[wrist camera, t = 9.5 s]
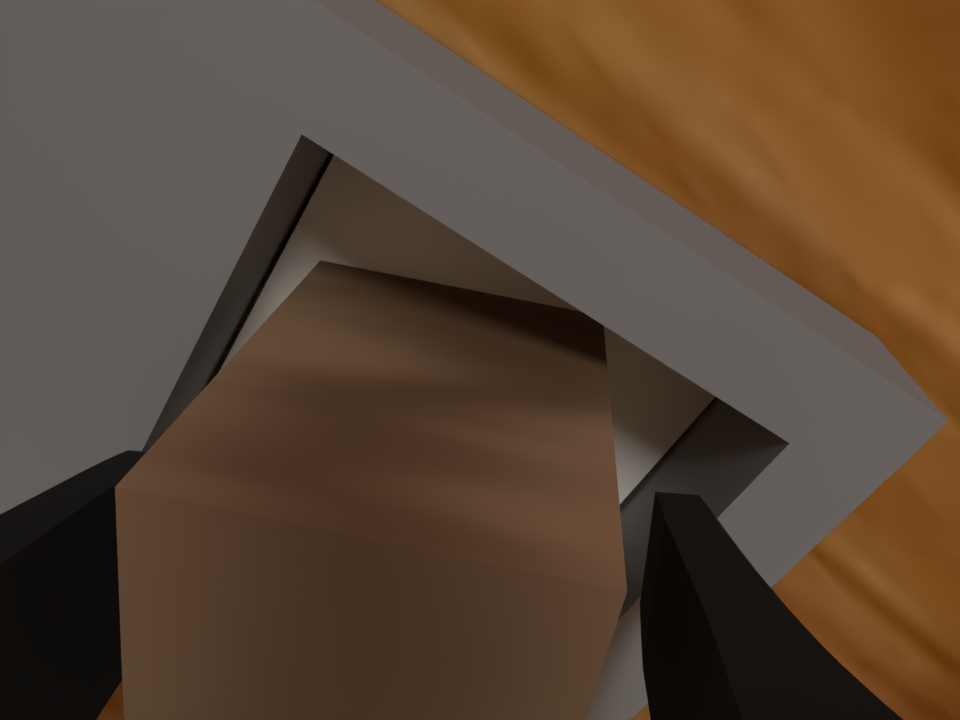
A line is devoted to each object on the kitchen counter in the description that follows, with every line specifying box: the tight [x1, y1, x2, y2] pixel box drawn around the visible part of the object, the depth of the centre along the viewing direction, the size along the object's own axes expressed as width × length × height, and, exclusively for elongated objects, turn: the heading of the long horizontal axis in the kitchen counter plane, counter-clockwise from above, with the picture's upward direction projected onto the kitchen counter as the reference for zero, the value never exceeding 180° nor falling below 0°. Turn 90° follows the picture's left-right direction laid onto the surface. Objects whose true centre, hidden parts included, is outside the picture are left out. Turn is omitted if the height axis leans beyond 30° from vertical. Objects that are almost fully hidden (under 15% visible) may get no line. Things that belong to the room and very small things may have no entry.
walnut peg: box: [115, 260, 627, 720], centre depth 12 cm, size 5×5×7 cm
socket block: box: [0, 0, 949, 720], centre depth 10 cm, size 18×11×10 cm, turn 58°
